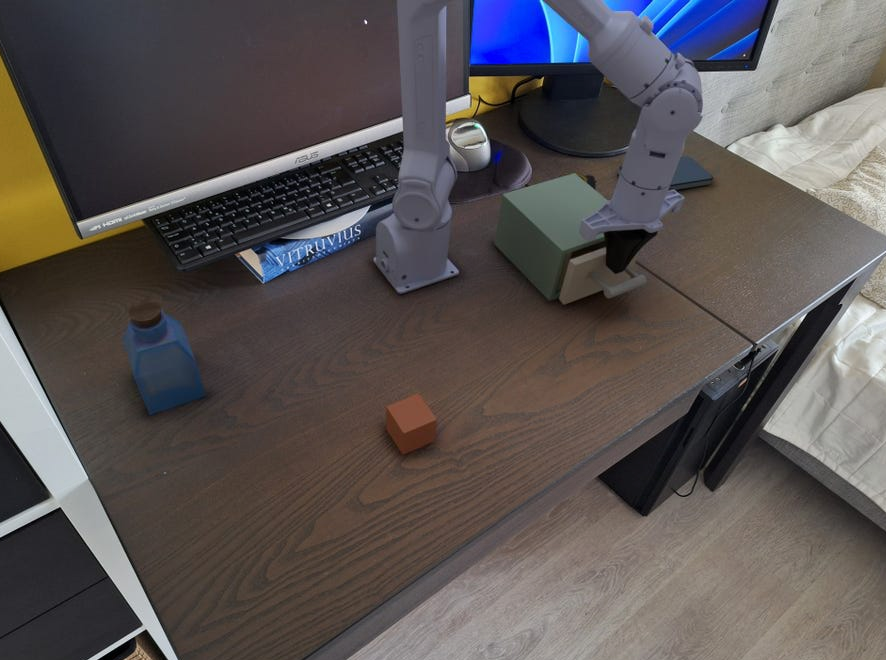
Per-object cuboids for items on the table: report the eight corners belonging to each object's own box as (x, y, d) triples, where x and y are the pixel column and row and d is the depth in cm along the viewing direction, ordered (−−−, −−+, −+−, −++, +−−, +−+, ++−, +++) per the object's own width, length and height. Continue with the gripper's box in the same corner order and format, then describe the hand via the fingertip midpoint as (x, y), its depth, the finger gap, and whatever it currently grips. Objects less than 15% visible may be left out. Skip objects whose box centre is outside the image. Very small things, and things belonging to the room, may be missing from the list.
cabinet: (620, 274, 95) (638, 225, 88) (549, 301, 90) (562, 250, 84) (562, 222, 102) (574, 172, 96) (493, 244, 98) (502, 193, 91)
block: (402, 455, 72) (403, 433, 69) (385, 428, 74) (386, 406, 71) (434, 441, 74) (437, 419, 71) (417, 415, 76) (418, 393, 73)
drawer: (652, 300, 90) (668, 261, 85) (586, 327, 86) (599, 288, 81) (573, 230, 100) (584, 190, 95) (510, 250, 95) (518, 211, 90)
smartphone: (716, 178, 111) (642, 189, 106) (712, 186, 112) (639, 198, 108) (689, 154, 116) (617, 164, 111) (686, 163, 117) (614, 173, 112)
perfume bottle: (191, 359, 79) (168, 282, 70) (206, 396, 76) (183, 320, 67) (137, 376, 77) (106, 299, 68) (149, 414, 74) (118, 339, 65)
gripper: (620, 210, 71) (590, 304, 81) (717, 178, 76) (677, 270, 86) (579, 176, 75) (555, 270, 85) (673, 148, 80) (640, 239, 90)
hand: (614, 268), depth 86 cm, fingers closed
